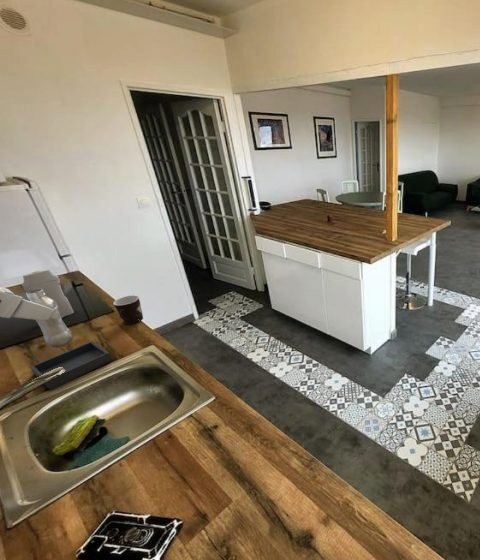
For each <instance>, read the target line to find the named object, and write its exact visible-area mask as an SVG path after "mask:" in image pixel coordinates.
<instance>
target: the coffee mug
mask: <svg viewBox="0 0 480 560" xmlns="http://www.w3.org/2000/svg"><path fill="white" fill-rule="evenodd" d="M112 304H113V306H114V307H115V309H116V311H117V313H118V315H119V317H120V319H122V320H123V322H124V324H126V325H134V324H138V323H139V322H141V321H142V320H143V319H144V315H143V310H142V305H141V301H140V297H139V295H135V294H133V295H127V296H126V295H125V296H122V297H119V298H117V299H116V300H114V301H113V303H112ZM138 319H139V320H140V321H139V320H138Z"/></svg>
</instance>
